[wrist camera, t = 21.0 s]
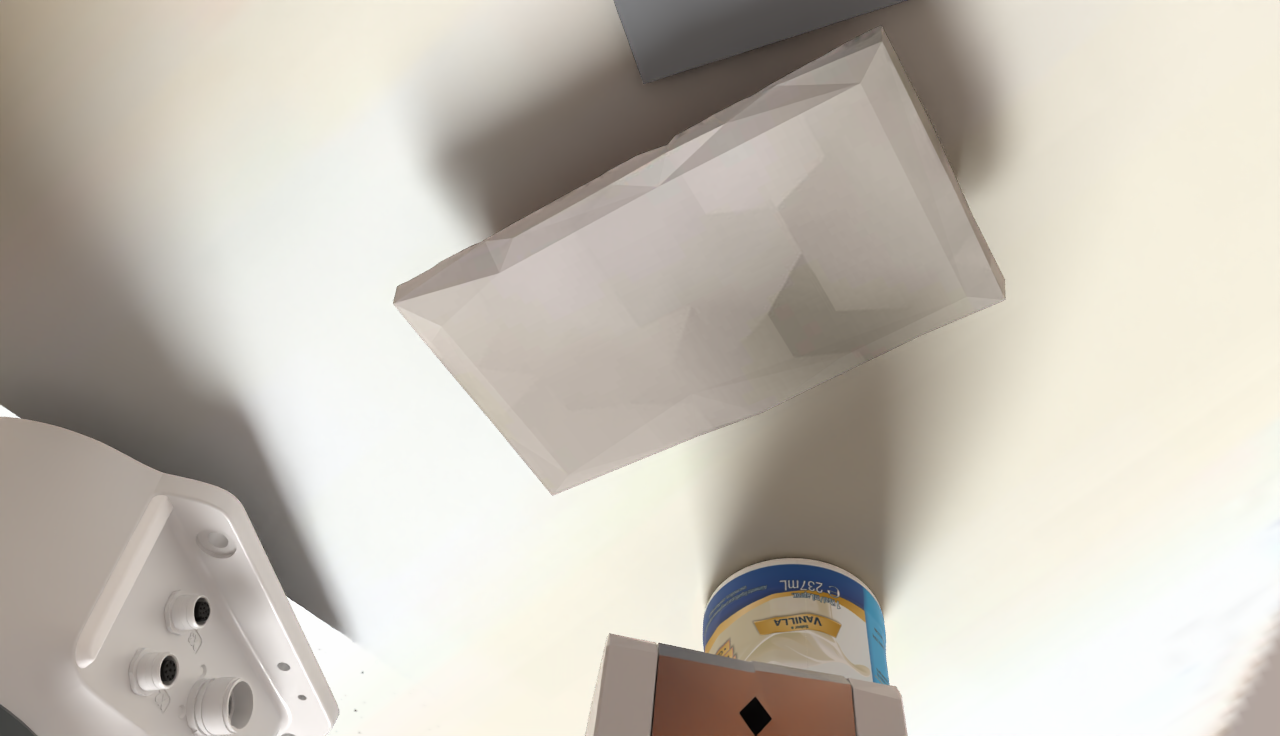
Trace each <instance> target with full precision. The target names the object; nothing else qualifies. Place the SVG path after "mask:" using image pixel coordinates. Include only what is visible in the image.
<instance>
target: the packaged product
mask: <svg viewBox="0 0 1280 736" xmlns="http://www.w3.org/2000/svg"><path fill="white" fill-rule="evenodd" d="M1004 300H1005V279H1004V277H1003V275H1002V273H1001V271H1000V269H999V267H998V265H997V263H996V261H995V259H994V257H993V255H992V253H991V251H990V249H989V247H988V245H987V243H986V241H985V239H984V237H983V235H982V233H981V231H980V229H979V227H978V225H977V223H976V221H975V219H974V217H973V215H972V213H971V211H970V208H969V206H968V204H967V202H966V199H965V197H964V195H963V193H962V190H961V188H960V186H959V184H958V181H957V179H956V177H955V175H954V173H953V170H952V168H951V166H950V164H949V161H948V159H947V157H946V155H945V152H944V150H943V148H942V146H941V143H940V141H939V139H938V137H937V135H936V132H935V130H934V128H933V126H932V124H931V122H930V120H929V118H928V116H927V114H926V112H925V110H924V108H923V106H922V104H921V102H920V100H919V98H918V96H917V94H916V92H915V90H914V88H913V86H912V84H911V82H910V80H909V78H908V76H907V74H906V72H905V70H904V68H903V66H902V64H901V62H900V61H899V59H898V57H897V55H896V53H895V51H894V49H893V47H892V45H891V43H890V41H889V39H888V37H887V35H886V33H885V31H884V29H883V27H882V25H880V26H878V27H876V28H874V29H872V30H870V31H868V32H866V33H864V34H862V35H860V36H858V37H856V38H854V39H852V40H850V41H848V42H846V43H844V44H842V45H841V46H839V47H837V48H836V49H834V50H832V51H831V52H829V53H827V54H825V55H824V56H822V57H820V58H818V59H816V60H814V61H812V62H810V63H808V64H806V65H804V66H803V67H801V68H799V69H797V70H795V71H794V72H792V73H790V74H788V75H786V76H785V77H783V78H781V79H779V80H777V81H776V82H774V83H772V84H770V85H769V86H767V87H765V88H763V89H762V90H760V91H759V92H757V93H756V94H754V95H752V96H750V97H748V98H745V99H743V100H741V101H739V102H737V103H735V104H733V105H731V106H729V107H727V108H725V109H723V110H721V111H719V112H717V113H716V114H714V115H712V116H710V117H708V118H707V119H705V120H703V121H702V122H700V123H698V124H696V125H694V126H692V127H691V128H689V129H687V130H685V131H683V132H681V133H679V134H677V135H675V136H674V137H673V139H672V140H671V141H670V142H669V143H668V145H665V146H662V147H659V148H656V149H654V150H651V151H648V152H645V153H642V154H640V155H637V156H635V157H633V158H632V159H630V160H628V161H626V162H624V163H622V164H620V165H618V166H617V167H615V168H613V169H611V170H609V171H607V172H606V173H604V174H603V175H601V176H600V177H598V178H596V179H594V180H592V181H590V182H588V183H587V184H585V185H583V186H581V187H579V188H577V189H575V190H573V191H571V192H570V193H568V194H566V195H564V196H562V197H560V198H559V199H557V200H555V201H553V202H551V203H550V204H548V205H546V206H544V207H542V208H541V209H539V210H537V211H535V212H533V213H531V214H530V215H528V216H526V217H524V218H522V219H521V220H519V221H517V222H515V223H513V224H512V225H510V226H508V227H506V228H505V229H503V230H501V231H499V232H497V233H496V234H494V235H492V236H490V237H488V238H487V239H485V240H483V241H482V242H480V243H478V244H475V245H473V246H470V247H468V248H466V249H464V250H462V251H460V252H458V253H456V254H455V255H453V256H451V257H449V258H447V259H445V260H443V261H441V262H440V263H438V264H437V265H435V266H434V267H433V268H431V269H429V270H428V271H426V272H424V273H422V274H420V275H418V276H417V277H415V278H413V279H411V280H409V281H407V282H405V283H403V284H401V285H399V286H397V289H396V293H395V297H394V302H393V304H394V306H395V307H396V308H397V309H398V310H399V312H400V313H401V314H402V315H403V317H404V318H405V319H406V320H407V321H408V323H409V324H410V325H411V326H412V328H413V329H414V330H415V331H416V332H417V334H418V335H419V336H420V337H421V338H422V340H423V341H424V342H425V343H426V345H427V346H428V347H429V348H430V349H431V351H432V352H433V353H434V354H435V355H436V356H437V358H438V359H439V360H440V361H441V362H442V364H443V365H444V366H445V367H446V368H447V370H448V371H449V372H450V373H451V374H452V375H453V377H454V378H455V379H456V380H457V381H458V383H459V384H460V385H461V386H462V387H463V389H464V390H465V391H466V392H467V393H468V394H469V396H470V397H471V398H472V399H473V400H474V402H475V403H476V404H477V405H478V406H479V407H480V409H481V410H482V411H483V412H484V413H485V415H486V416H487V417H488V418H489V419H490V421H491V422H492V423H493V424H494V425H495V426H496V428H497V429H498V430H499V431H500V432H501V434H502V435H503V436H504V437H505V439H506V440H507V441H508V442H509V443H510V445H511V446H512V447H513V448H514V450H515V451H516V452H517V453H518V454H519V456H520V457H521V458H522V459H523V461H524V462H525V463H526V464H527V465H528V467H529V468H530V469H531V470H532V471H533V473H534V474H535V475H536V476H537V478H538V479H539V480H540V481H541V482H542V484H543V485H544V486H545V487H546V489H547V490H548V491H549V492H550V493H551V495H552V496H553V495H555V494H558V493H560V492H563V491H565V490H568V489H570V488H572V487H575V486H577V485H580V484H582V483H585V482H587V481H590V480H592V479H595V478H597V477H599V476H602V475H604V474H607V473H609V472H612V471H614V470H617V469H619V468H621V467H624V466H626V465H629V464H631V463H634V462H636V461H639V460H641V459H643V458H646V457H648V456H651V455H653V454H656V453H658V452H661V451H663V450H666V449H668V448H670V447H673V446H675V445H678V444H680V443H683V442H685V441H688V440H690V439H692V438H695V437H697V436H700V435H703V434H706V433H708V432H711V431H714V430H716V429H719V428H722V427H725V426H727V425H730V424H733V423H736V422H738V421H741V420H744V419H747V418H749V417H752V416H755V415H758V414H760V413H763V412H765V411H767V410H769V409H771V408H773V407H775V406H777V405H779V404H781V403H783V402H785V401H787V400H789V399H791V398H793V397H795V396H797V395H799V394H801V393H803V392H805V391H807V390H809V389H811V388H813V387H816V386H818V385H820V384H822V383H824V382H826V381H828V380H830V379H832V378H834V377H836V376H838V375H840V374H842V373H844V372H846V371H848V370H850V369H853V368H855V367H857V366H859V365H861V364H863V363H865V362H867V361H869V360H871V359H873V358H875V357H877V356H879V355H881V354H884V353H886V352H888V351H890V350H892V349H894V348H896V347H898V346H900V345H902V344H904V343H906V342H908V341H910V340H913V339H915V338H917V337H919V336H921V335H923V334H925V333H928V332H930V331H933V330H935V329H937V328H940V327H942V326H944V325H947V324H949V323H952V322H954V321H956V320H959V319H961V318H963V317H966V316H968V315H971V314H973V313H975V312H978V311H980V310H983V309H985V308H987V307H990V306H992V305H994V304H997V303H999V302H1002V301H1004Z"/></svg>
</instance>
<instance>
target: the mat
mask: <svg viewBox="0 0 1280 736" xmlns="http://www.w3.org/2000/svg"><path fill="white" fill-rule="evenodd" d="M903 1H907V0H614V3H615V6H616V8H617V11H618V14H619V17H620V20H621V22H622V25H623V28H624V31H625V33H626V36H627V39H628V42H629V45H630V47H631V50H632V53H633V56H634V58H635V61H636V64H637V67H638V70H639V72H640V75H641V78H642V81H643V83H644V84H646V83H649V82H652V81H655V80H658V79H662V78H665V77H668V76H671V75H674V74H677V73H680V72H684V71H687V70H690V69H693V68H696V67H699V66H702V65H706V64H709V63H712V62H715V61H718V60H721V59H724V58H728V57H731V56H734V55H737V54H740V53H743V52H746V51H750V50H753V49H756V48H759V47H762V46H765V45H768V44H772V43H775V42H778V41H781V40H784V39H787V38H790V37H794V36H797V35H800V34H803V33H806V32H809V31H812V30H816V29H819V28H822V27H825V26H828V25H831V24H834V23H837V22H841V21H844V20H847V19H850V18H853V17H856V16H859V15H863V14H866V13H869V12H872V11H875V10H878V9H881V8H885V7H888V6H891V5H894V4H897V3H900V2H903Z"/></svg>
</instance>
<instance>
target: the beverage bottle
mask: <svg viewBox="0 0 1280 736" xmlns="http://www.w3.org/2000/svg"><path fill="white" fill-rule="evenodd" d="M703 646H704V652H705V653H710V654H714V655H719V656H724V657H729V658H734V659H738V660H743V661H748V662H750V661H757V662H763V663H769V664H775V665H781V666H787V667H793V668H798V669H804V670H810V671H816V672H822V673H828V674H834V675H840V676H844V677H845V678H852V679H857V680H863V681H868V682H874V683H879V684H885V685H889V678H888V670H887V662H886V634H885V625H884V618H883V613H882V610H881V607H880V605H879V603H878V601H877V599H876V597H875V596H874V594H873V593H872V592H871V590H870V589H869V588H868V587H867V586H866V585H865V584H864V583H863V582H862V581H861V580H859V579H858V578H857V577H855V576H854V575H852V574H851V573H849V572H847V571H845V570H843V569H841V568H839V567H837V566H834V565H831V564H828V563H825V562H821V561H817V560H811V559H802V558H782V559H773V560H768V561H763V562H760V563H756V564H753V565H751V566H748V567H746V568H744V569H742V570H740V571H738V572H736V573H734V574H733V575H731V576H730V577H729V578H727V579H726V580H725V581H724V582H723V583H722V584H721V585H720V586H719V587H718V588H717V589H716V590H715V592H714V593H713V594H712V596H711V598H710V600H709V602H708V604H707V606H706V609H705V613H704V620H703Z"/></svg>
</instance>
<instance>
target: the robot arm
mask: <svg viewBox="0 0 1280 736" xmlns="http://www.w3.org/2000/svg"><path fill="white" fill-rule="evenodd" d="M338 716H339V708H338V705H337V703H336V700H335V698H334V696H333V694H332V692H331V690H330V687H329V685H328V683H327V681H326V679H325V677H324V675H323V673H322V671H321V669H320V666H319V664H318V662H317V660H316V658H315V656H314V654H313V652H312V650H311V647H310V645H309V643H308V641H307V639H306V637H305V635H304V633H303V631H302V629H301V626H300V624H299V622H298V620H297V618H296V616H295V614H294V612H293V610H292V608H291V605H290V603H289V601H288V599H287V597H286V595H285V593H284V591H283V589H282V586H281V584H280V582H279V580H278V578H277V576H276V574H275V572H274V570H273V568H272V565H271V563H270V561H269V559H268V557H267V555H266V553H265V551H264V549H263V547H262V544H261V542H260V540H259V538H258V536H257V534H256V532H255V530H254V528H253V525H252V523H251V521H250V519H249V517H248V515H247V513H246V511H245V509H244V507H243V505H242V504H241V502H240V501H239V500H238V499H237V498H236V497H235V496H234V495H233V494H231V493H230V492H228V491H226V490H225V489H222V488H220V487H218V486H215V485H212V484H209V483H205V482H201V481H198V480H194V479H189V478H185V477H181V476H176V475H172V474H167V473H163V472H160V471H158V470H155V469H153V468H151V467H149V466H147V465H145V464H142V463H141V462H139V461H137V460H135V459H133V458H131V457H129V456H127V455H126V454H124V453H122V452H120V451H118V450H116V449H114V448H112V447H110V446H108V445H106V444H104V443H102V442H100V441H97V440H95V439H93V438H90V437H88V436H85V435H82V434H80V433H77V432H74V431H71V430H68V429H65V428H62V427H59V426H55V425H51V424H47V423H43V422H38V421H33V420H27V419H20V418H11V417H0V736H326V735H327V734H328V733H329V732H330V730H331V729H332V728H333V726H334V724H335V722H336V720H337V718H338ZM585 736H908V735H907V728H906V721H905V714H904V708H903V701H902V696H901V694H900V692H899V690H898V689H897V687H896V686H890V685H885V684H879V683H874V682H868V681H863V680H857V679H852V678H845V677H844V676H840V675H834V674H828V673H822V672H816V671H810V670H804V669H798V668H793V667H787V666H781V665H775V664H769V663H763V662H757V661H750V662H748V661H743V660H738V659H734V658H729V657H724V656H719V655H714V654H710V653H705V652H700V651H695V650H691V649H686V648H681V647H676V646H672V645H667V644H662V643H658V644H656V643H655V642H650V641H645V640H640V639H635V638H630V637H625V636H620V635H615V634H610V633H609V635H608V636H607V639H606V643H605V647H604V651H603V656H602V660H601V664H600V669H599V673H598V677H597V682H596V686H595V690H594V695H593V699H592V704H591V709H590V713H589V718H588V723H587V728H586V733H585Z"/></svg>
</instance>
